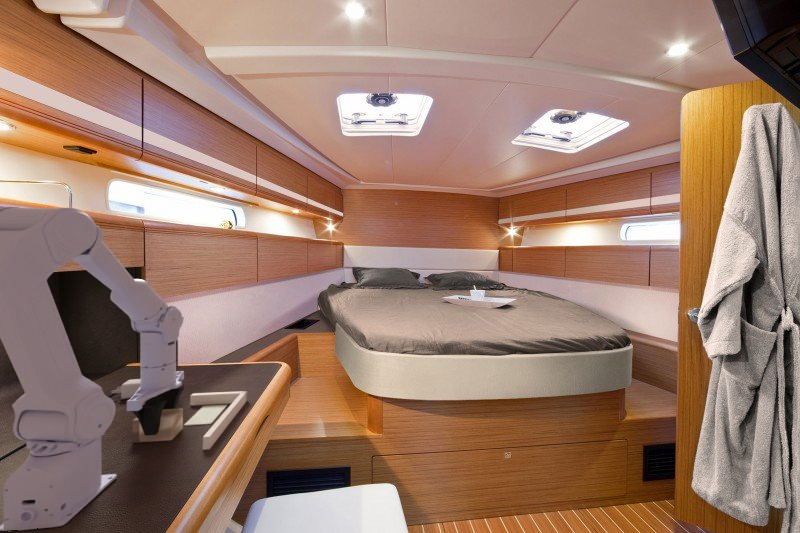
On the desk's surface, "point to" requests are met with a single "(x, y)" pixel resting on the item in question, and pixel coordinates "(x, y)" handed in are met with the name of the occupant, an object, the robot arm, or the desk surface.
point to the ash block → (168, 427)
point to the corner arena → (215, 412)
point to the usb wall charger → (128, 388)
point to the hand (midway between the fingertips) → (158, 427)
